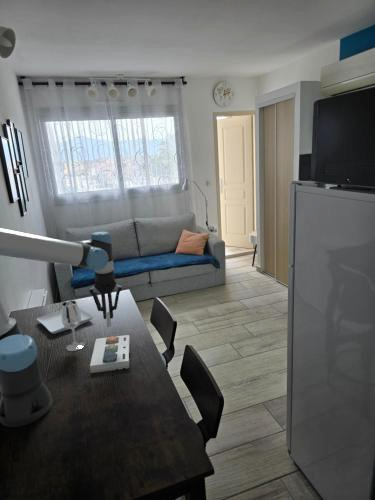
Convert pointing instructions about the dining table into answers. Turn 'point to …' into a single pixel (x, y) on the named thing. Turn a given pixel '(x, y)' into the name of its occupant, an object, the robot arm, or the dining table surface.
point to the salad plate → (55, 322)
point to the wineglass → (71, 322)
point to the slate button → (109, 356)
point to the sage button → (111, 347)
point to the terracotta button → (112, 340)
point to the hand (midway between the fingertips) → (109, 325)
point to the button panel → (121, 353)
